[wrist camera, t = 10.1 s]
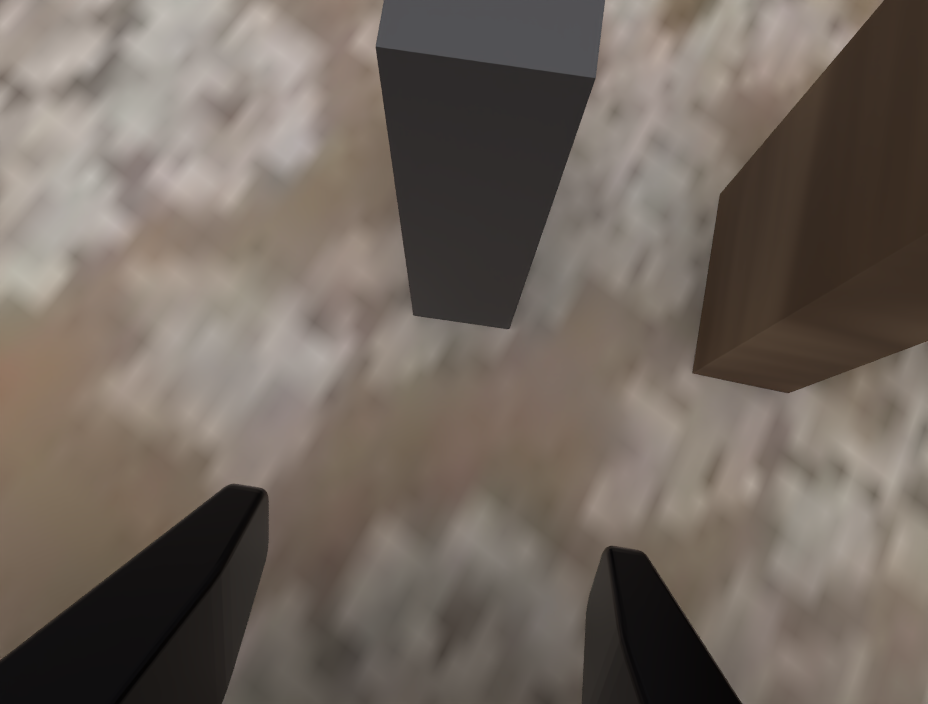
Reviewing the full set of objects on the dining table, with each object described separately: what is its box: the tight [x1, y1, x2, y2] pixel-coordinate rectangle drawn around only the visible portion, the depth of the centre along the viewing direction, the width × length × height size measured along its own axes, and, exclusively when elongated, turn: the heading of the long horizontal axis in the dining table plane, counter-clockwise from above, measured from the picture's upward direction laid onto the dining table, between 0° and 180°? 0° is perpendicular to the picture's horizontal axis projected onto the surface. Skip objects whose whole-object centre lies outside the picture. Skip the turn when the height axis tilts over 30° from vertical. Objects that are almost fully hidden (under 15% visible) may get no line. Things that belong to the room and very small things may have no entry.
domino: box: [693, 0, 928, 393], centre depth 13 cm, size 2×4×10 cm, turn 168°
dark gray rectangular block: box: [376, 0, 605, 329], centre depth 13 cm, size 2×4×10 cm, turn 172°
